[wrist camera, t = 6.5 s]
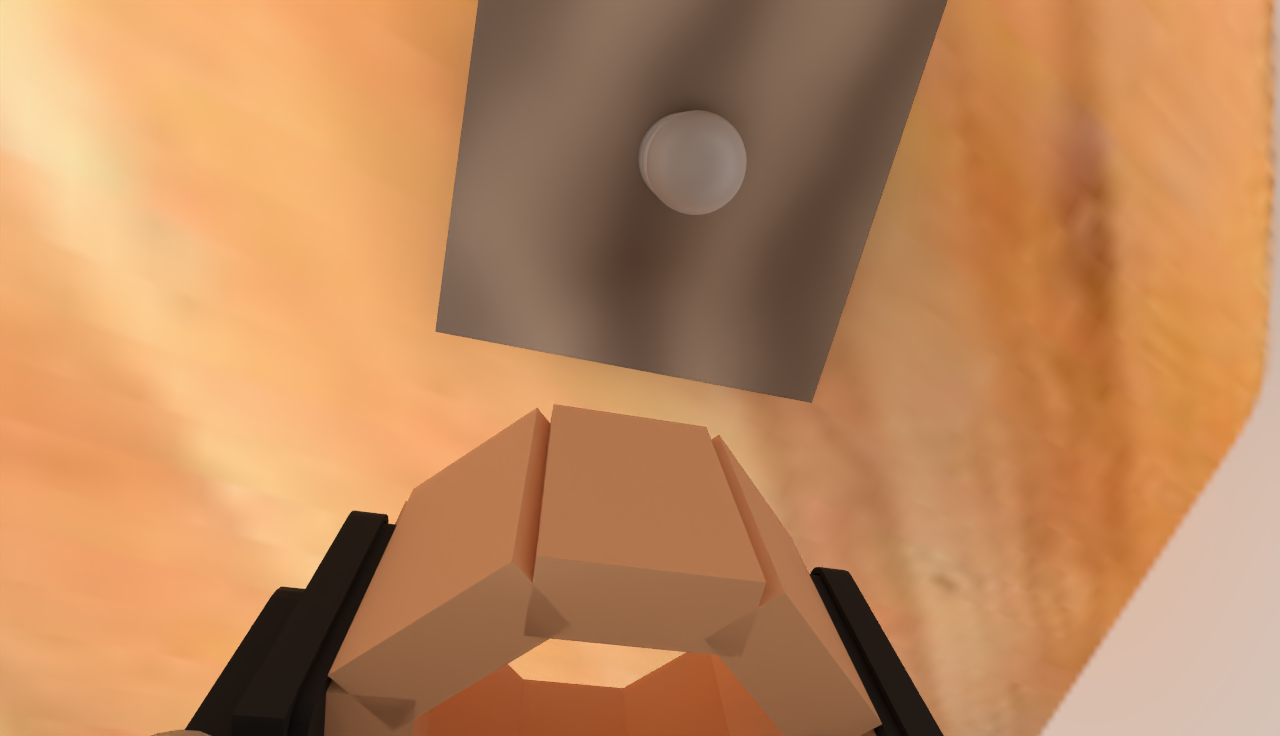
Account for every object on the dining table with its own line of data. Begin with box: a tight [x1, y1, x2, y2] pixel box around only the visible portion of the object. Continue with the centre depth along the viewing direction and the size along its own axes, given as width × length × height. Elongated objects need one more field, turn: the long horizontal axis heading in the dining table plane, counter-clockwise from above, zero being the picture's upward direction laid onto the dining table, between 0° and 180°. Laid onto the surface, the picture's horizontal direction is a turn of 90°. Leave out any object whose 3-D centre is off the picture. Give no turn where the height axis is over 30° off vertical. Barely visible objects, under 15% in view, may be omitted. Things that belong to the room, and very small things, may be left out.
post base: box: [435, 0, 947, 403], centre depth 21 cm, size 15×16×6 cm
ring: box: [324, 404, 882, 736], centre depth 10 cm, size 7×7×4 cm
